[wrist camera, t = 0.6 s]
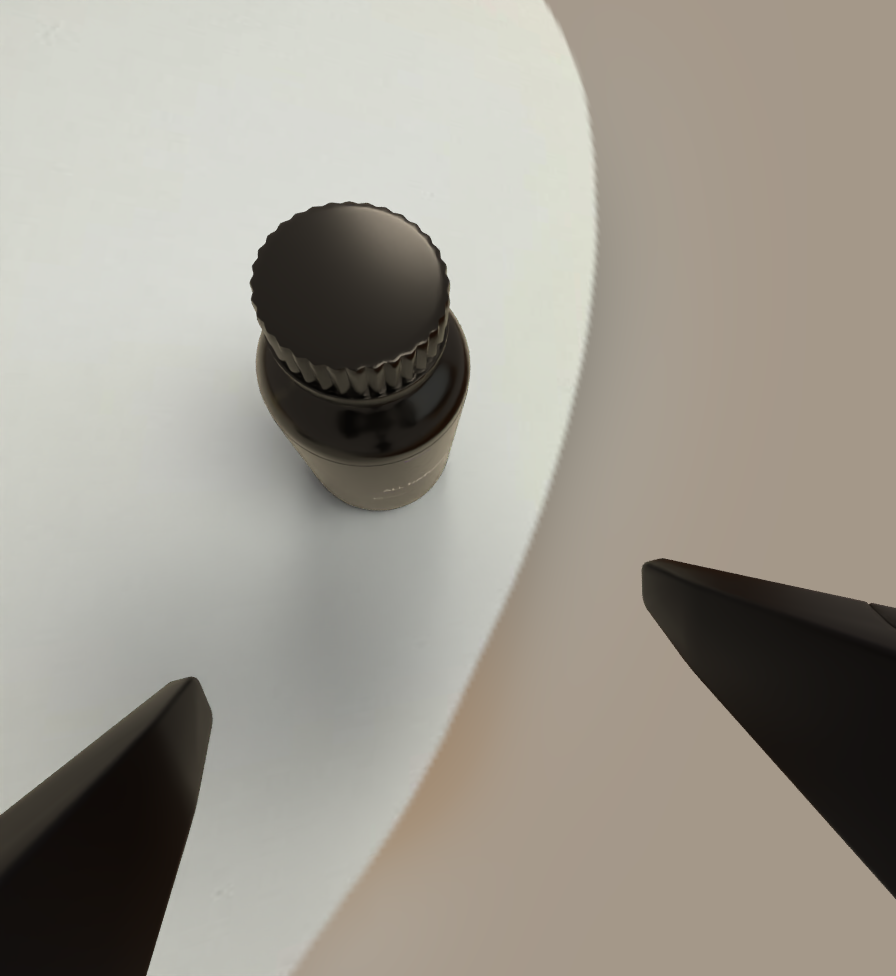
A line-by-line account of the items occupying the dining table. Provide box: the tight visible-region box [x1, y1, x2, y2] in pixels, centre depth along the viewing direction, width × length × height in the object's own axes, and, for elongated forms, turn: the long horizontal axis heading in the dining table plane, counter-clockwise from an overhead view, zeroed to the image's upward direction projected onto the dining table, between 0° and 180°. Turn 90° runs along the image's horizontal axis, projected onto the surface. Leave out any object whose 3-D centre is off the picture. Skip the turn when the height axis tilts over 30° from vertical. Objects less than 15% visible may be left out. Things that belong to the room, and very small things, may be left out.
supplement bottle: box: [250, 201, 470, 511], centre depth 16 cm, size 7×7×12 cm
